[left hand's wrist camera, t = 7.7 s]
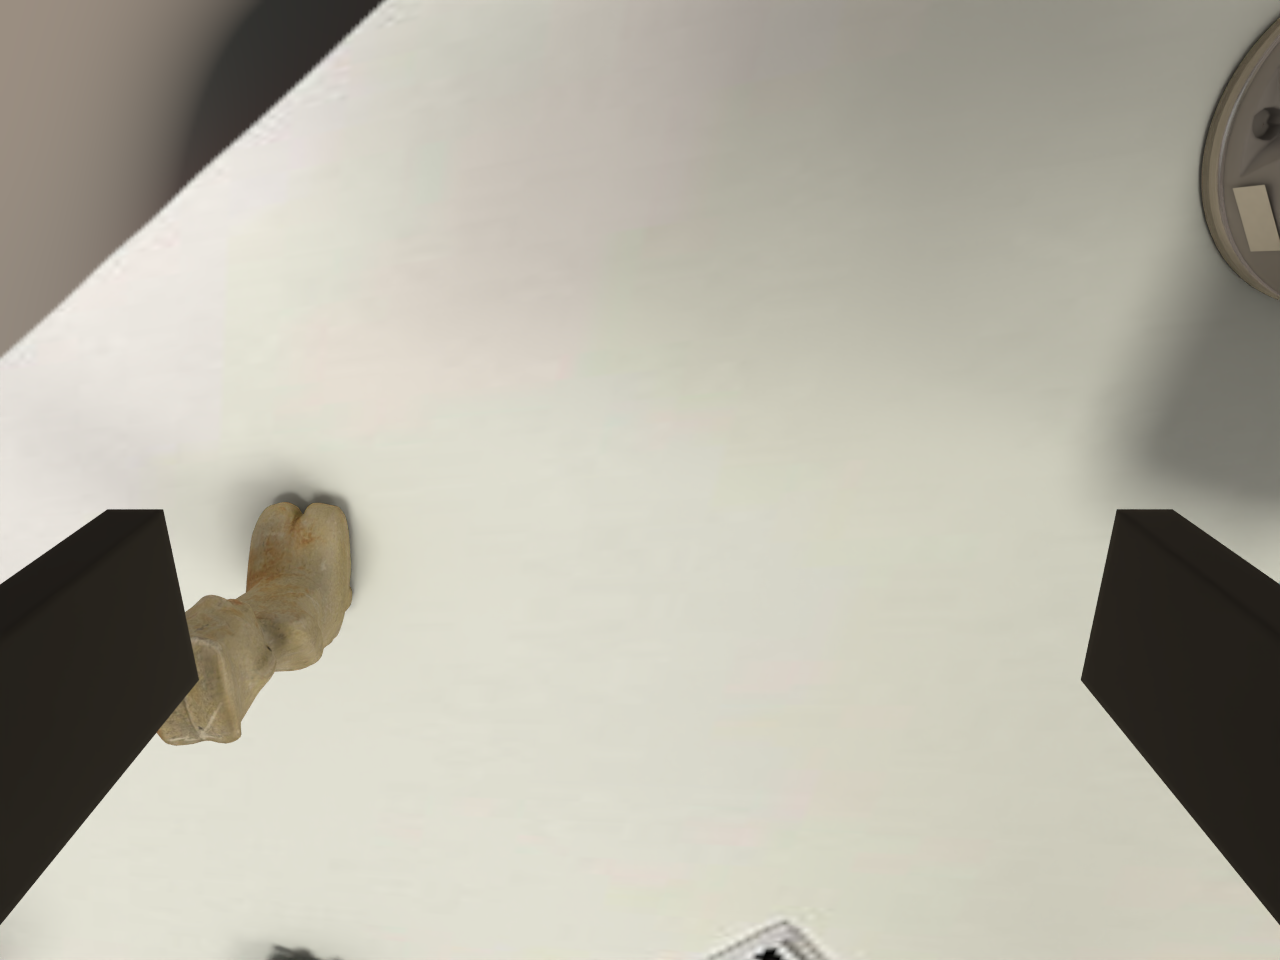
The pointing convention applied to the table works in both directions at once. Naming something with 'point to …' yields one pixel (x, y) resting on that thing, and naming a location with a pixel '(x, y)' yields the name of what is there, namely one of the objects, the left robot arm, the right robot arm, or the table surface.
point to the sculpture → (265, 619)
